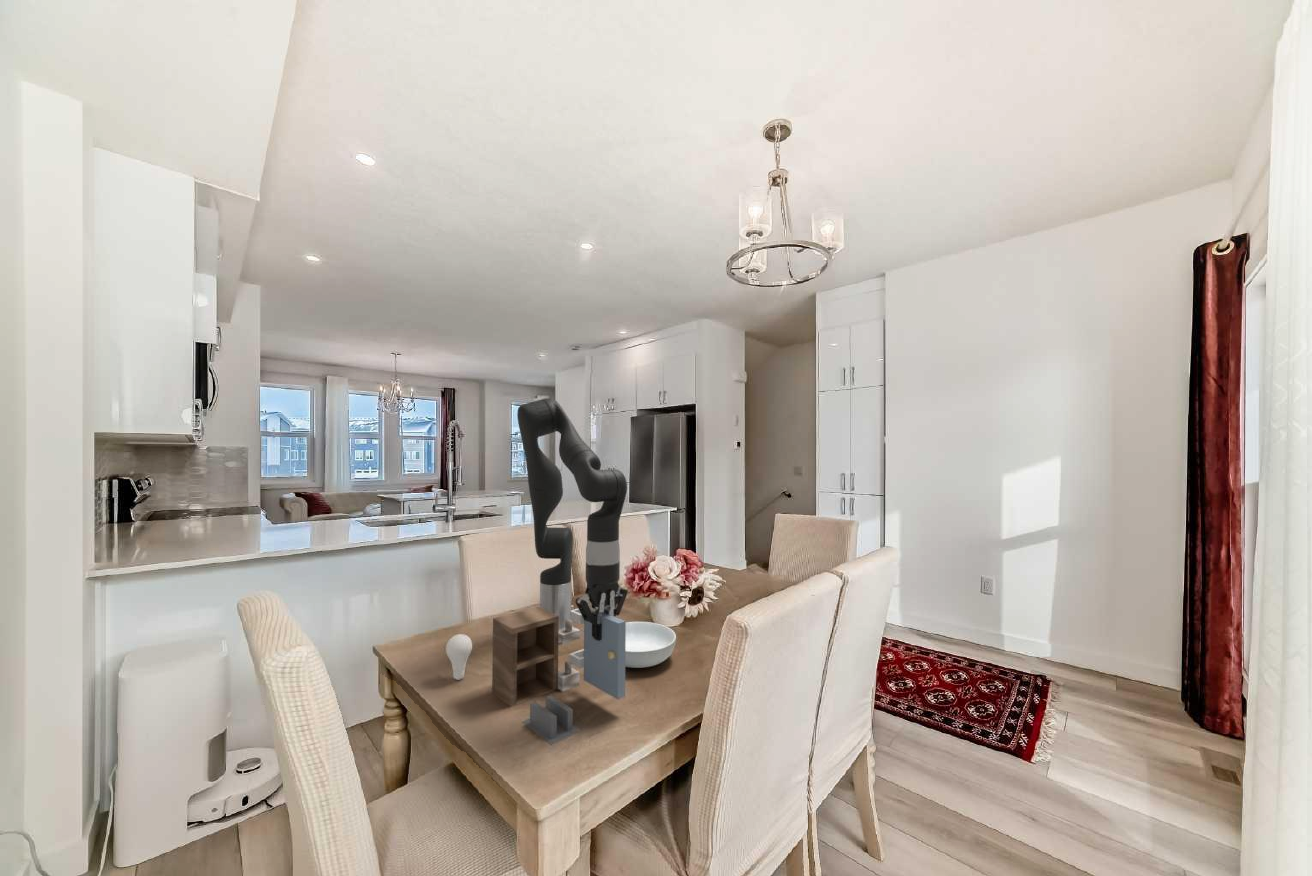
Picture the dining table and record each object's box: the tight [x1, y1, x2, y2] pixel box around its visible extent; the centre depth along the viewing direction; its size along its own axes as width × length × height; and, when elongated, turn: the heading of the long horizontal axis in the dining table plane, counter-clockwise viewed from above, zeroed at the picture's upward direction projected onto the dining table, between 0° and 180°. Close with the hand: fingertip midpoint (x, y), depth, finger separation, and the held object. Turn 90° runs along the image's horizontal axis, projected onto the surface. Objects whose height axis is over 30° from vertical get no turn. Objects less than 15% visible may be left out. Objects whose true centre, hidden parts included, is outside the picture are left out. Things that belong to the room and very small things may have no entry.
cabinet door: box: [568, 608, 627, 700], centre depth 114 cm, size 4×16×16 cm, turn 45°
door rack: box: [521, 694, 582, 746], centre depth 104 cm, size 7×11×5 cm, turn 45°
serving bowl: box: [625, 621, 677, 669], centre depth 139 cm, size 21×21×7 cm
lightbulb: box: [445, 633, 473, 681], centre depth 126 cm, size 6×6×11 cm
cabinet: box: [491, 606, 581, 707], centre depth 120 cm, size 17×11×18 cm, turn 135°
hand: (601, 637), depth 113 cm, fingers closed on cabinet door, 2 cm apart
